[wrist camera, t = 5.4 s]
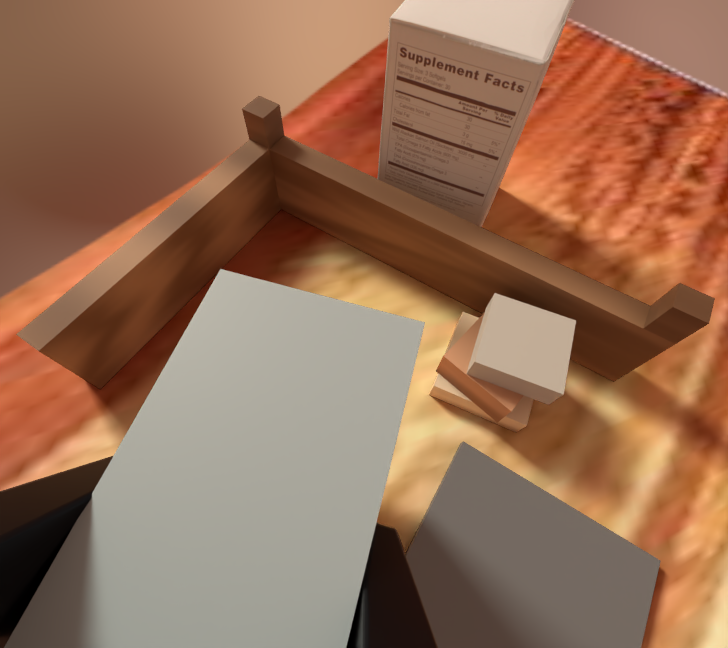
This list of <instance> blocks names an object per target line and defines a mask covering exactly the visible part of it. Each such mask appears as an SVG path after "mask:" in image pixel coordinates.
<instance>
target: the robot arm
mask: <svg viewBox="0 0 728 648" xmlns="http://www.w3.org/2000/svg"><path fill="white" fill-rule="evenodd" d="M112 458H113V456H111V457H108V458H105V459H102V460H99V461H95V462H92V463H89V464H86V465H83V466H79V467H76V468H73V469H70V470H67V471H64V472H60V473H57V474H54V475H51V476H48V477H44V478H41V479H38V480H35V481H32V482H29V483H25V484H22V485H19V486H16V487H13V488H9V489H6V490H3V491H0V648H4V647H5V645H6V643H7V642H8V640H9V638H10V636H11V635H12V633H13V631H14V629H15V628H16V626H17V624H18V622H19V621H20V619H21V617H22V615H23V614H24V612H25V610H26V608H27V607H28V605H29V603H30V601H31V600H32V598H33V596H34V594H35V593H36V591H37V589H38V587H39V586H40V584H41V582H42V580H43V579H44V577H45V575H46V573H47V572H48V570H49V568H50V566H51V565H52V563H53V561H54V559H55V558H56V556H57V554H58V552H59V551H60V549H61V547H62V545H63V544H64V542H65V540H66V538H67V537H68V535H69V533H70V531H71V530H72V528H73V526H74V524H75V523H76V521H77V519H78V518H79V516H80V515H81V513H82V512H83V510H84V509H85V507H86V506H87V504H88V503H89V501H90V500H91V498H92V493H93V491H94V489H95V488H96V486H97V484H98V482H99V481H100V479H101V477H102V475H103V474H104V472H105V470H106V468H107V467H108V465H109V463H110V461H111V460H112ZM346 648H438V646H437V643H436V640H435V637H434V634H433V631H432V629H431V626H430V623H429V620H428V617H427V614H426V612H425V609H424V606H423V603H422V600H421V597H420V594H419V592H418V589H417V586H416V583H415V580H414V577H413V575H412V572H411V569H410V566H409V563H408V560H407V558H406V555H405V552H404V549H403V546H402V543H401V540H400V538H399V535H398V532H397V530H396V529H395V528H393V527H391V526H387V525H384V524H381V523H378V522H376V526H375V531H374V535H373V539H372V543H371V547H370V551H369V555H368V559H367V564H366V568H365V572H364V576H363V580H362V584H361V588H360V592H359V597H358V601H357V605H356V609H355V613H354V617H353V621H352V625H351V630H350V634H349V638H348V642H347V646H346Z"/></svg>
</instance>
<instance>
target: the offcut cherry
mask: <svg viewBox="0 0 728 648" xmlns="http://www.w3.org/2000/svg"><path fill="white" fill-rule="evenodd" d="M484 313H485V312H484ZM484 313H483V315H482V316H481V317H480V318H479V319H478V320H477V321H476V322H475V323H474V324H473V325H472V326H471V327H470V328H469V329H468V330H467V332H466V333H465V334H464V335H463V336H462V337H461V338H460V339H459V340H458V341H457V342H456V343H455V344H454V345H453V346H452V347H451V349H450V350H449V351H448V352H447V353H446V354H445V355H444V356H443V358H442V360H441V362H440V364H439V366H438V368H437V370H436V372H437V373H439V374H440V375H441V376H442V377H443V378H445V379H446V380H447V381H448V382H449V383H451V384H452V385H453V386H454V387H455V388H457V389H458V390H459V391H460V392H461V393H463V394H464V395H465V396H466V397H467V398H469V399H470V400H471V401H472V402H473V403H474V404H476V405H477V406H478V407H479V408H480V409H482V410H483V411H484V412H485V413H486V414H488V415H489V416H490V417H491V418H492V419H494V420H495V421H496V422H497V423H498V422H499V421H500V420H501V419H503V418H504V417H505V416H506V415H508V414H509V413H510V412H511V411H512V410H513V409H514V407H515V406H516V405H517V404H518V402H519V401H520V400H521V399H522V397H523V396H524V395H521V394H518V393H516V392H513V391H510V390H508V389H505V388H502V387H500V386H497V385H494V384H492V383H489V382H486V381H484V380H481V379H478V378H476V377H473V376H470V375H468V374H466V373H467V370H468V366H469V363H470V360H471V356H472V353H473V350H474V346H475V343H476V340H477V336H478V333H479V330H480V326H481V323H482V320H483V316H484Z"/></svg>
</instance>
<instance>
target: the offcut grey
mask: <svg viewBox="0 0 728 648" xmlns="http://www.w3.org/2000/svg"><path fill="white" fill-rule="evenodd" d="M575 324H576V320H573V319H570V318H567V317H564V316H561V315H558V314H555V313H552V312H549V311H547V310H544V309H541V308H538V307H535V306H532V305H529V304H526V303H523V302H520V301H517V300H514V299H511V298H508V297H505V296H502V295H499V294H496V293H495V294H494V295H493V297H492V299H491V300H490V302H489V304H488V306H487V307H486V309H485V313H484V316H483V320H482V323H481V326H480V330H479V333H478V336H477V340H476V343H475V346H474V350H473V353H472V356H471V360H470V363H469V366H468V370H467V373H466V374H468V375H470V376H473V377H476V378H478V379H481V380H484V381H486V382H489V383H492V384H494V385H497V386H500V387H502V388H505V389H508V390H510V391H513V392H516V393H518V394H521V395H524V396H526V397H529V398H532V399H534V400H537V401H540V402H542V403H545V404H548V405H549V404H551V403H552V402H554V401H555V400H557V399H558V398H559V397H561V396H562V395H564V390H565V384H566V378H567V372H568V366H569V360H570V354H571V348H572V342H573V336H574V330H575Z"/></svg>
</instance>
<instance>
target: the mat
mask: <svg viewBox="0 0 728 648" xmlns="http://www.w3.org/2000/svg"><path fill="white" fill-rule="evenodd" d="M405 555H406V558H407V560H408V563H409V566H410V569H411V572H412V575H413V577H414V580H415V583H416V586H417V589H418V592H419V594H420V597H421V600H422V603H423V606H424V609H425V612H426V614H427V617H428V620H429V623H430V626H431V629H432V631H433V634H434V637H435V640H436V643H437V646H438V648H641V646H642V641H643V637H644V632H645V628H646V624H647V619H648V615H649V610H650V606H651V601H652V597H653V592H654V588H655V583H656V579H657V575H658V570H659V566H660V560H658V559H657V558H655V557H653V556H652V555H650V554H648V553H647V552H645V551H643V550H642V549H640V548H638V547H637V546H635V545H634V544H632V543H630V542H629V541H627V540H625V539H624V538H622V537H620V536H619V535H617V534H615V533H614V532H612V531H610V530H609V529H607V528H605V527H604V526H602V525H600V524H599V523H597V522H596V521H594V520H592V519H591V518H589V517H587V516H586V515H584V514H582V513H581V512H579V511H577V510H576V509H574V508H572V507H571V506H569V505H567V504H566V503H564V502H562V501H561V500H559V499H558V498H556V497H554V496H553V495H551V494H549V493H548V492H546V491H544V490H543V489H541V488H539V487H538V486H536V485H534V484H533V483H531V482H529V481H528V480H526V479H524V478H523V477H521V476H520V475H518V474H516V473H515V472H513V471H511V470H510V469H508V468H506V467H505V466H503V465H501V464H500V463H498V462H496V461H495V460H493V459H491V458H490V457H488V456H486V455H485V454H483V453H482V452H480V451H478V450H477V449H475V448H473V447H472V446H470V445H468V444H467V443H465V442H462V443H461V444H460V446H459V448H458V450H457V452H456V454H455V456H454V458H453V460H452V462H451V464H450V466H449V468H448V470H447V472H446V474H445V476H444V478H443V480H442V482H441V484H440V486H439V488H438V490H437V492H436V494H435V496H434V498H433V500H432V502H431V504H430V506H429V508H428V510H427V512H426V514H425V516H424V518H423V520H422V522H421V524H420V526H419V528H418V530H417V532H416V534H415V536H414V538H413V540H412V542H411V544H410V546H409V548H408V550H407V552H406V554H405Z"/></svg>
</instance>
